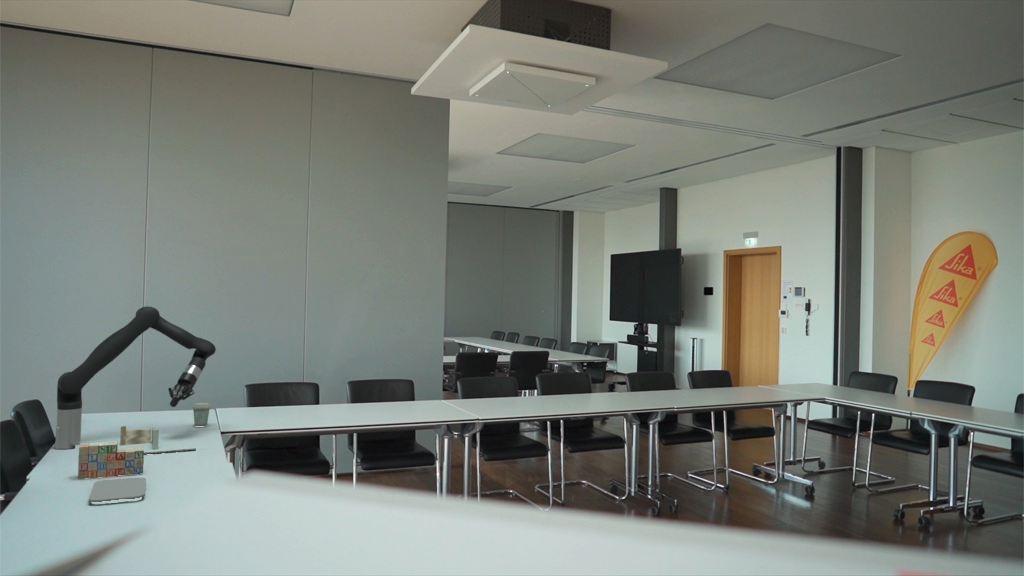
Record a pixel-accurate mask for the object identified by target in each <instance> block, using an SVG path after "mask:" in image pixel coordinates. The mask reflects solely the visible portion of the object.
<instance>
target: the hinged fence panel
mask: <svg viewBox="0 0 1024 576" xmlns="http://www.w3.org/2000/svg"><path fill="white" fill-rule="evenodd" d="M159 434H160V429H159V428H156V427H152V428H151V443H150V444H152V450H158V449H159V436H160V435H159Z"/></svg>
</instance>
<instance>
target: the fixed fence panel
mask: <svg viewBox="0 0 1024 576" xmlns="http://www.w3.org/2000/svg"><path fill="white" fill-rule="evenodd" d="M119 439H120V441H119V445H120V446H130V445H145V444H152V443H151V442H152V428H143V429H128V430H127V425H121V426H120V438H119Z"/></svg>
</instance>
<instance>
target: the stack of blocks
mask: <svg viewBox="0 0 1024 576" xmlns="http://www.w3.org/2000/svg"><path fill="white" fill-rule="evenodd" d="M118 445H119V444H118V440H117V441H116V440H115V441H103V442H91V443H90V442H87V443H80V444H79V447H78V465H77V466H78V469H77V471H78V472H77V480H86V479H85V478H90V479H99V478H98V477H103V478H109V477H108V476H115V477H119V476H118V475H127V476H129V475H128V474H139V475H141V474H140V473H144V461H145V457H144V456H145V455H144V453H145V452H144V451H145V448H144V447H143V446H142V447H129V448H128V447H127V448H118Z"/></svg>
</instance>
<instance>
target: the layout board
mask: <svg viewBox="0 0 1024 576" xmlns="http://www.w3.org/2000/svg"><path fill="white" fill-rule="evenodd" d="M196 451H197V449H196V448H190V449H189V448H188V449H187V448H183V449H178V450H177V449H172V450H170V449H169V450H165V451H164V450H160V451H153V452H152V451H148V452H147V451H145V452H144V456H148V455H147V454H153V455H163V454H162V453H165V454H173V453H174V454H176V452H178V453H186V452H196Z"/></svg>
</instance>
